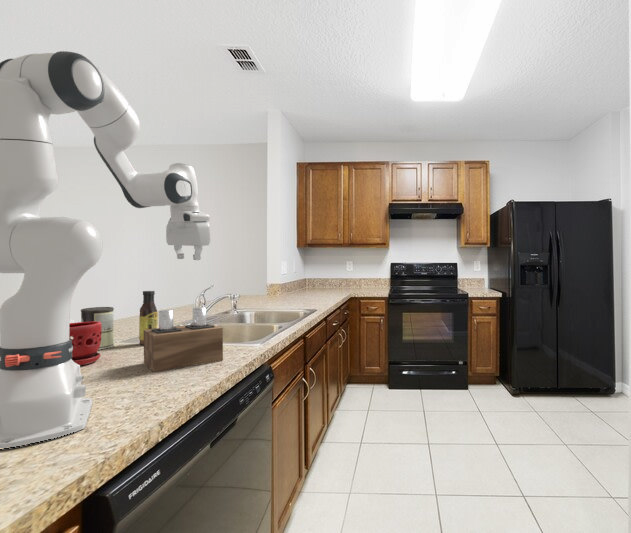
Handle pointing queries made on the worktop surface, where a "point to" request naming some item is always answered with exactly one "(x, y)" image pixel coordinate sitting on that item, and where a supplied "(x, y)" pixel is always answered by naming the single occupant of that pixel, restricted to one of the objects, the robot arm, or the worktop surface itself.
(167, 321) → the near peg
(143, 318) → the sauce bottle
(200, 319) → the far peg
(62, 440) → the worktop surface
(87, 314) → the coffee can
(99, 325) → the plant pot
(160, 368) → the socket block
